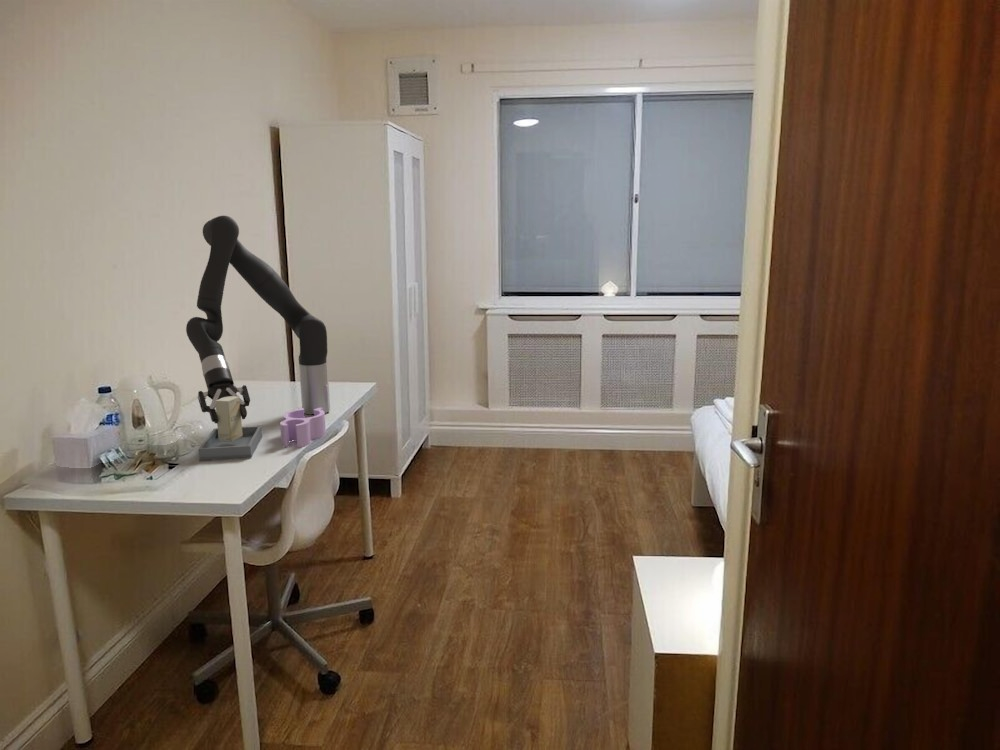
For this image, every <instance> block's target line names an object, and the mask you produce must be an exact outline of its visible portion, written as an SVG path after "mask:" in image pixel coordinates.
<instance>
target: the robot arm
mask: <svg viewBox="0 0 1000 750" xmlns="http://www.w3.org/2000/svg"><path fill="white" fill-rule="evenodd" d="M239 235H240V228H239V225H238V223H237V221H236V220H235V219H234V218H233V217H230V216H228V215H219V216H216V217H213V218H211V219H210V220H208V221H206V222H205V224H204V225H203V227H202V236H203V239H204V240H205V242H206V243H207V244H208V245H209V246H210V250H209V251H210V252H209V257H208V259H207V260H208V261H207V263H206V266H205V270H204V272H203V273H202V277H201V280H200V285H199V290H198V295H197V300H196V308H197V309H198V310H200V311H201V312H203V313H205V315H206V318H204V317H201V316H199V317H198V316H194V317H192V318H190V319H189V320H188V321H187V324H186V327H185V328H186V329H185V331H186V336H187V337H188V340H189V342H190V343H191V345H192V346H193V348H194V350H195V351H196V352H197V353H198V357H199V360H200V364H201V371H202V376H203V378H204V382H205V385H206V388H207V391H202V390H199V391H198V393H197V399H198V400H197V401H198V403H199V407H200V410H201V412H202V413H209V416H210V420H211V422H212V423H214V424H217V423H218V417H217V414H216V406H215V401H216V400H218V399H220V398H223V397H227V396H238V397H239V400H240V411H241V420H245V419H246V418H247V415H248V411H247V408H246V407H249V406H250V404H251V398H250V394H249V390H248V387H247V385H242V386H240V387H237V386H236V385H235V383H234V380H233V379H234V378H233V375H232V372H231V369H230V367H229V366H230V365H229V363H228V361H227V358H226V356H225V352H224V349H223V346H222V345H221V343H220V342H219V341H220V339H221V338H222V336H223V331H224V327H223V316H222V315H223V314H222V303H223V298H224V297H223V296H224V291H225V286H226V285H225V283H226V279H227V274H228V270H229V266H230V265H231V267H232V268H234V270H235V271H236V272H237V273H238V274H239V275H240V277H241V278H243V280H244V281H245V282H246V283H247V284H248V285H249V286H250V287H251V289H252V290H253V291H254V292H255V293H256V294H257V295H258V296H259V297H260V298H261V300H263V301H264V302H265V303H266V304H267V305H268V306H270V308H272V309H273V310H274V311H275V312H276V313H277V314H279V315H280V316H281V317H282V318H283V320H284V321H285V322H286V323H287V325H288V326H289V327H290V328H291V330H292V331H293V333H294V334H295V336H296V337H297V339H299V340H298V341H299V356H298V370H299V382H300V383H299V384H300V395H301V408H304V413H305V414H304V415H311V414H314V409H317V408H323V411H324V412H325V414H327V412H329V413H330V411H331V410H330V409H331V401H330V386H329V385H330V384H329V380H328V378H329V377H328V365H327V357H328V331H327V327H326V325H325V323H324V322H323V321H322V320H321V319H319V318H317V317H315V316H314V315H312V314H311V313H310V312H309V311H308V310H306V309H305V308H304V307H303V305H301V303H300V302H299V301H298V300H297V299H296V297H295V295H294V294H293V293H292V291H291V289H290V288H289V286H288V284H287V283H286V282H285V281H284V279H283V278H282V277H281V276H280V274H278V272H277V271H276V270H274V268H273V267H272V266H271V265H269V264H268V263H266V262H265V261H264V260H263V259H261V258H260V257H258V256H256V255H255V254H253V252H251V251H250V250H248V249H247V248H246V247H245V246H244V245H243V243H242V242H241V241H240V240H239ZM237 393H239V394H240V395H241V396H242V399H243V400H242V399H241V398H240V395H238V394H237ZM207 397H208V398H209V399H211V400H212V401H211V403H210V405H207V401H206V399H207Z"/></svg>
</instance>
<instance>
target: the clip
mask: <svg viewBox="0 0 1000 750" xmlns="http://www.w3.org/2000/svg"><path fill="white" fill-rule="evenodd" d="M325 414H326V413H325V412H324V411H323V408H317V409H314V415H313V416H310V417H309V416H308V417H306V416H305V414H304V408H302V407H297V409H292V410H290V411H287V412H285V413H283V415H282V418H283V420H282V421H280V422H279V424H280V425H279V426H280V436H281V439H280V440H281V446H282V445H283V446H286V447H285V448H289V447H290V442H289V441H292V440H297V441H296V447H297V448H303V446H304V447H306V446H309V445H310V444H311V441H313V440H314V441H315V440H316V439H320V438H322V437H324V436H326V434H327V429H326V415H325ZM292 442H293V441H292ZM283 446H282V447H283ZM288 446H289V447H288Z"/></svg>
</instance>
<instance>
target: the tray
mask: <svg viewBox="0 0 1000 750" xmlns="http://www.w3.org/2000/svg"><path fill="white" fill-rule="evenodd" d="M242 433H243V436H241V437H239V438H237V439H235V440H233V441H219V437H218V427H217V428H213V429H212V430H211V432H210V433H209V434H208V436H207V437H206V438H205V439H204V441H203V442H202V444H200V446H199V447H198V448H197V451H198V461H199V462H205V461H222V460H224V461H225V460H240V459H252V457H253V455H254V454H255V452H256V450H257V448H258V446H259V444H260V443H261V440H262V438H263V429H262V425H259V426H242Z"/></svg>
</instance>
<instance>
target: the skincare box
mask: <svg viewBox="0 0 1000 750" xmlns="http://www.w3.org/2000/svg"><path fill="white" fill-rule="evenodd" d="M238 396H239V395H238ZM238 396H227V397H223V398H220V399H218V400H216V401H215V406H216V407H215V410H216V414H217V417H218V423H216V425H217V428H218V437H219V441H233V440H235V439H237V438H239V437H241V436H243V433H242V427H243V424H242V423H243V422H242V417H241V411H240V400H239V397H240V396H239V397H238Z"/></svg>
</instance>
